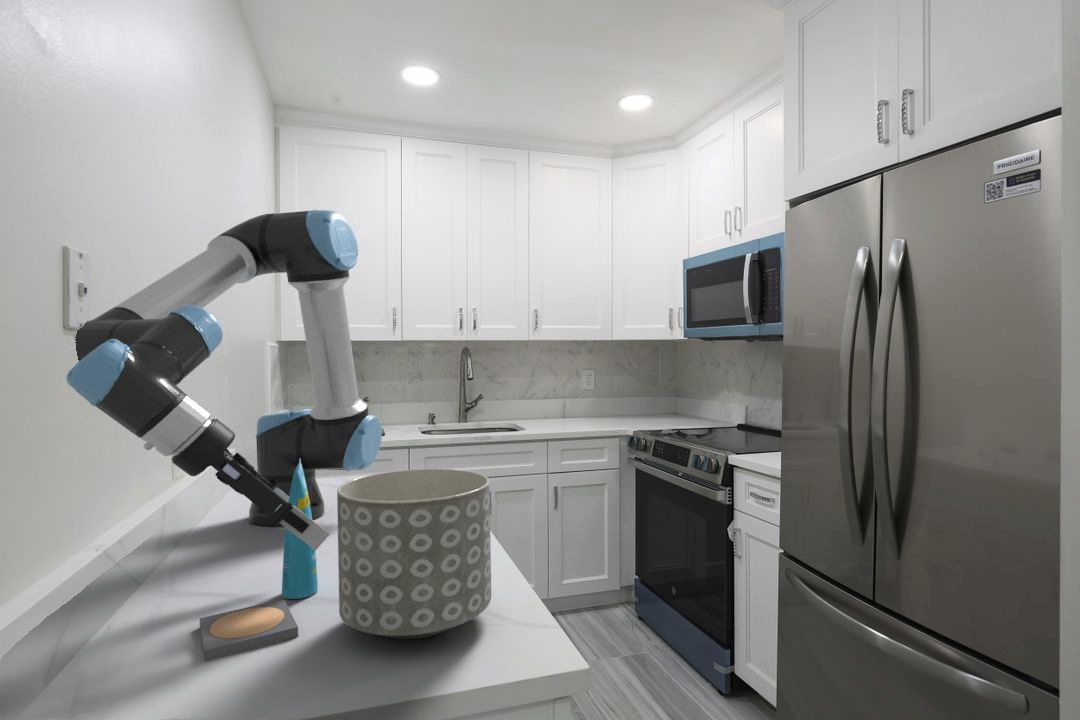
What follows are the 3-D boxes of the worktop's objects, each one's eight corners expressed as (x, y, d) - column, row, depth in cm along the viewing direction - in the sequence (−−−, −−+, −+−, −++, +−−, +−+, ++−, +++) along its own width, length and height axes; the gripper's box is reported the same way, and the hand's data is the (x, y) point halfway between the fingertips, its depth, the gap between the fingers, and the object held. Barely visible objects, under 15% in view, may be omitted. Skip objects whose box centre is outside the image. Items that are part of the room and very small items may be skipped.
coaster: (199, 627, 74) (199, 617, 74) (283, 607, 79) (283, 598, 79) (204, 661, 65) (204, 649, 65) (298, 636, 71) (297, 625, 71)
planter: (337, 606, 79) (335, 475, 79) (471, 585, 86) (469, 464, 86) (342, 677, 62) (339, 508, 61) (510, 643, 68) (508, 491, 68)
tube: (319, 599, 82) (317, 464, 82) (282, 606, 80) (280, 468, 80) (315, 581, 89) (313, 457, 88) (281, 587, 86) (278, 460, 86)
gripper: (167, 447, 86) (278, 530, 94) (168, 474, 65) (311, 577, 73) (208, 410, 89) (312, 493, 97) (221, 424, 68) (352, 528, 76)
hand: (311, 529), depth 85 cm, fingers open, 13 cm apart
